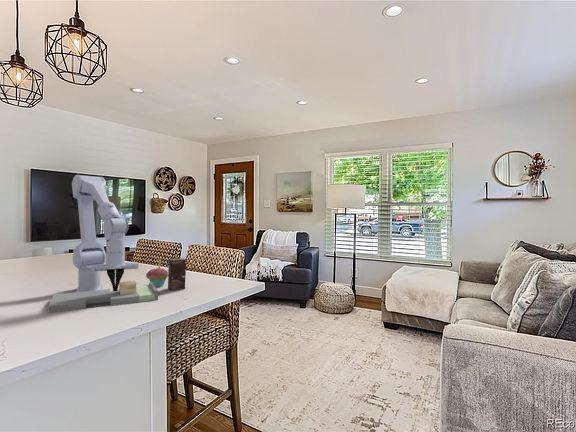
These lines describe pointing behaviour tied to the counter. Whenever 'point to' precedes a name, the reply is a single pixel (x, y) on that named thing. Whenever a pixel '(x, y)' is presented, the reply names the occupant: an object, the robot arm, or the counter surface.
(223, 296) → the counter surface
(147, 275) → the cupcake
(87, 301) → the track
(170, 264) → the box
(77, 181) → the robot arm
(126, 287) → the block
